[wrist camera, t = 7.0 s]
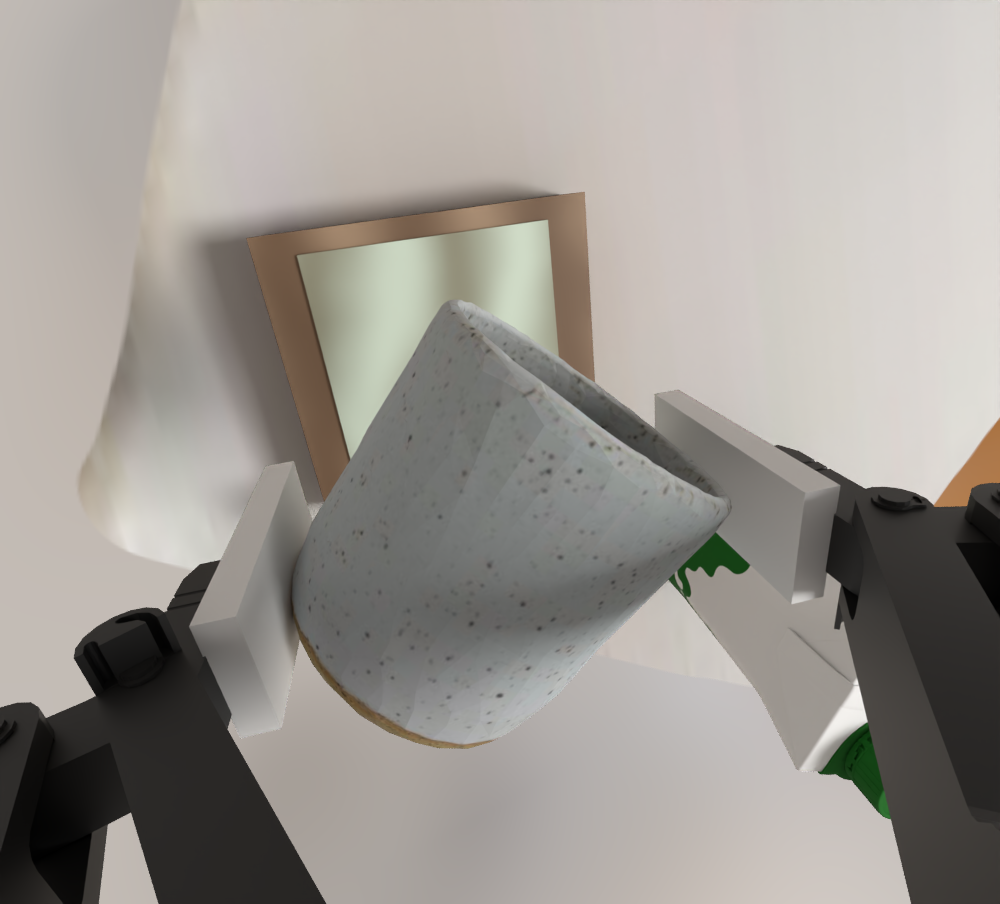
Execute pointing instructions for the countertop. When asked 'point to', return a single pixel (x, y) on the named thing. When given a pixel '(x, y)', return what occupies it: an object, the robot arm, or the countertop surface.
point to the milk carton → (788, 663)
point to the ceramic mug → (489, 536)
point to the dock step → (414, 301)
